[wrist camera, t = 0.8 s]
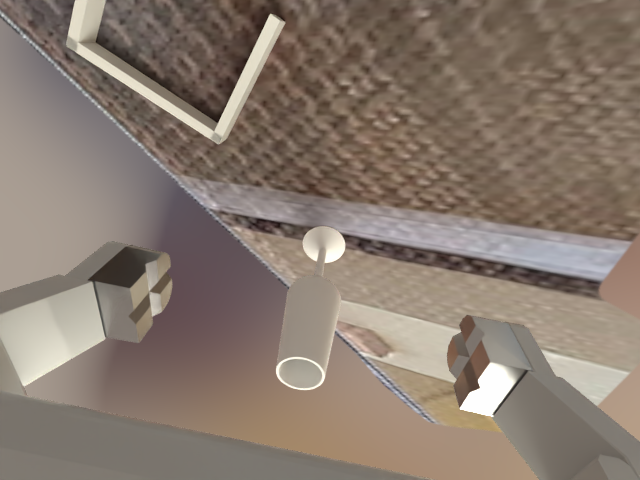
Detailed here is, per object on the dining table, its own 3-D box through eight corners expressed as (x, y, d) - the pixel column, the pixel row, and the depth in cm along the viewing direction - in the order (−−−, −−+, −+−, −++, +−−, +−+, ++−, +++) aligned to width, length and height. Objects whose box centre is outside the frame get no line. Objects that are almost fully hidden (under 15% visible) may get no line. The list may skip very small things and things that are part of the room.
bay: (118, -106, 35) (99, -118, 32) (285, 22, 39) (280, 20, 36) (83, 45, 42) (65, 45, 40) (226, 139, 46) (218, 144, 44)
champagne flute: (295, 234, 53) (253, 358, 32) (334, 219, 51) (316, 342, 30) (313, 267, 56) (286, 401, 35) (352, 255, 54) (346, 389, 33)
